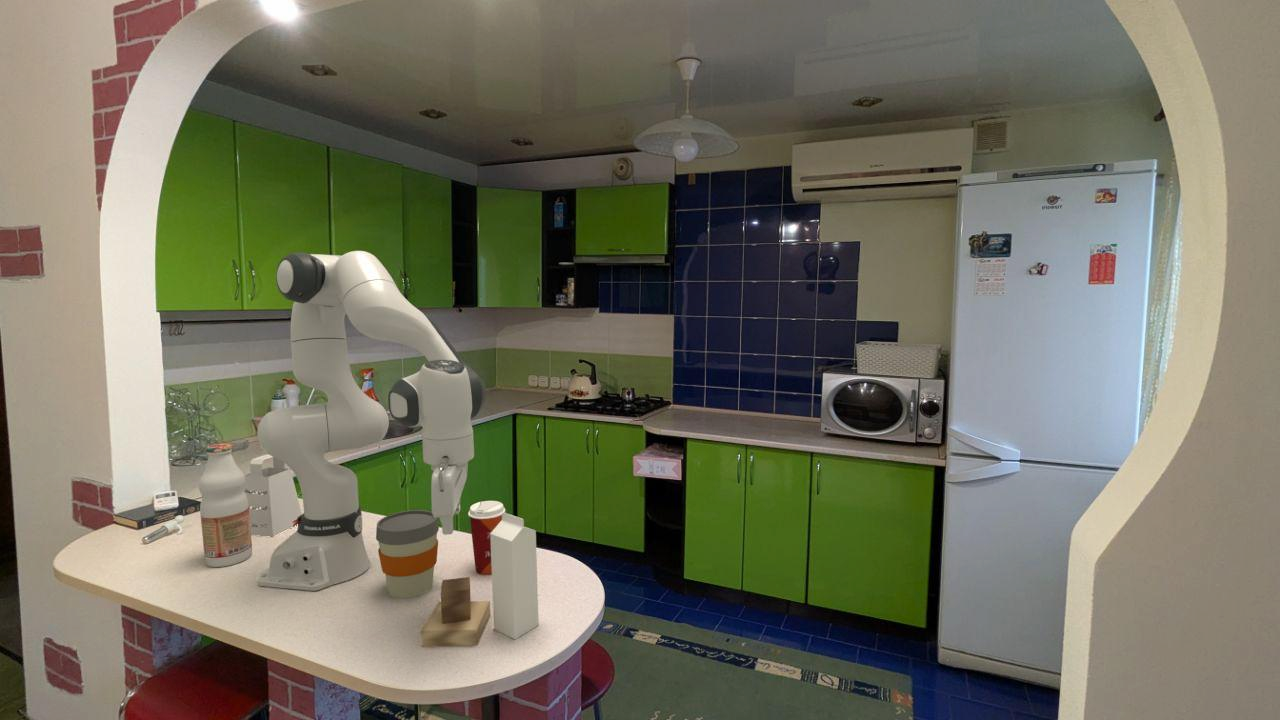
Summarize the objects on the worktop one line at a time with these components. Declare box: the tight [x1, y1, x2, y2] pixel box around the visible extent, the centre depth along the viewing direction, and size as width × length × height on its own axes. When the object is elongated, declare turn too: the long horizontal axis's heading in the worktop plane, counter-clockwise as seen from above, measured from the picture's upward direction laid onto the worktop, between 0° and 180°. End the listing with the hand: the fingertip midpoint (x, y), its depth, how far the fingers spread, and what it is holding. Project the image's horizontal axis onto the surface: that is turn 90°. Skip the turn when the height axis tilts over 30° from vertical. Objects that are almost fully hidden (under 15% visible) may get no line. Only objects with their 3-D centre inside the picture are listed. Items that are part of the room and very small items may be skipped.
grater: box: [244, 453, 303, 538], centre depth 160 cm, size 10×10×20 cm
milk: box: [490, 512, 539, 640], centre depth 111 cm, size 6×6×22 cm
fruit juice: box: [198, 442, 253, 568], centre depth 141 cm, size 9×9×28 cm
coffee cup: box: [467, 500, 506, 576], centre depth 135 cm, size 8×8×15 cm
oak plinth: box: [420, 600, 491, 647], centre depth 111 cm, size 10×10×3 cm
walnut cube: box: [440, 576, 472, 624], centre depth 111 cm, size 5×5×6 cm
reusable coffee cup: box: [375, 509, 440, 598], centre depth 127 cm, size 13×13×15 cm
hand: (451, 522), depth 109 cm, fingers open, 8 cm apart
